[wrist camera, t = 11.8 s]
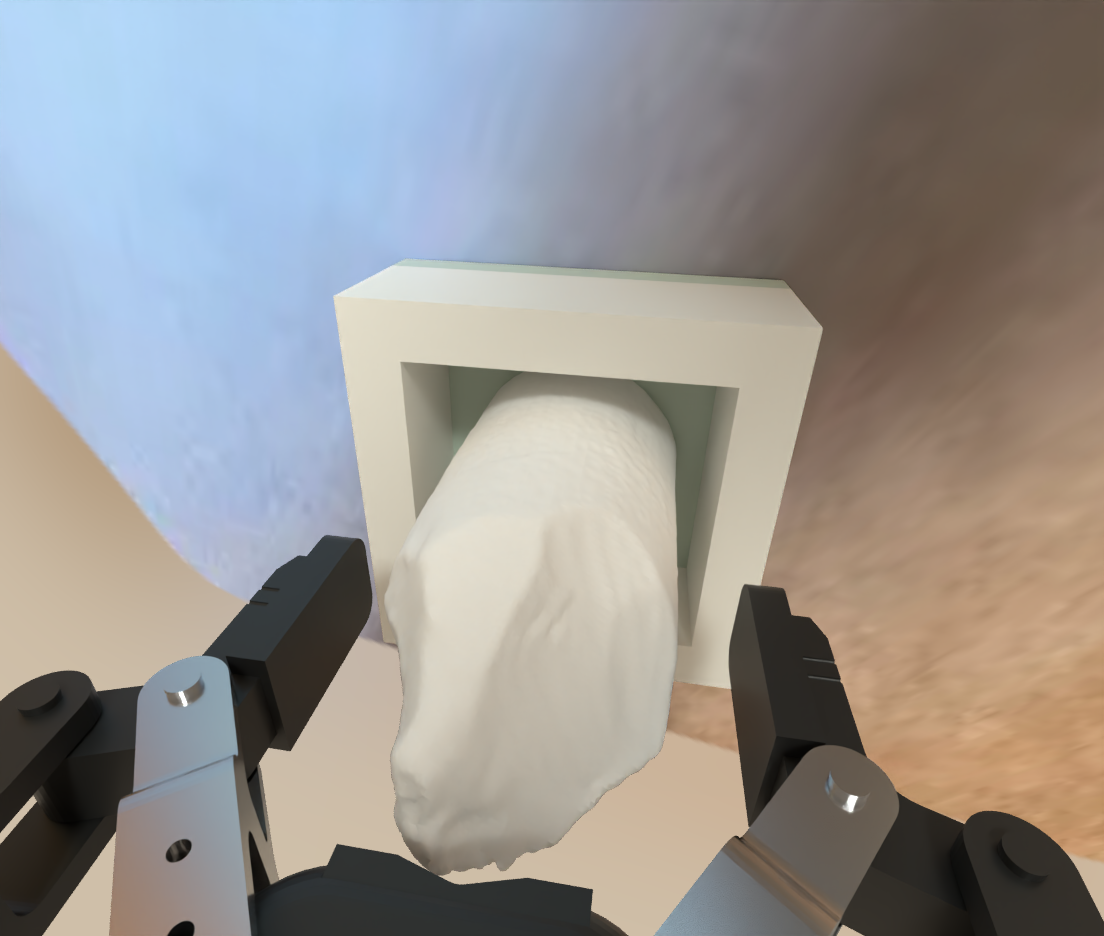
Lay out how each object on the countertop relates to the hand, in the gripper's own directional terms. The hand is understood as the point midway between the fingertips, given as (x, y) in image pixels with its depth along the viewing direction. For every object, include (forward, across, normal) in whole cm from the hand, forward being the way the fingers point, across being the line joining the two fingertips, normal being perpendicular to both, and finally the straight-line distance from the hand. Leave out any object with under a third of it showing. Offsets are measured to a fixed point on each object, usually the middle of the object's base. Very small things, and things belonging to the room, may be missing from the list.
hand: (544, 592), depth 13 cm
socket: (+7, 0, 0) cm, 7 cm away
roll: (+7, 0, 0) cm, 7 cm away
